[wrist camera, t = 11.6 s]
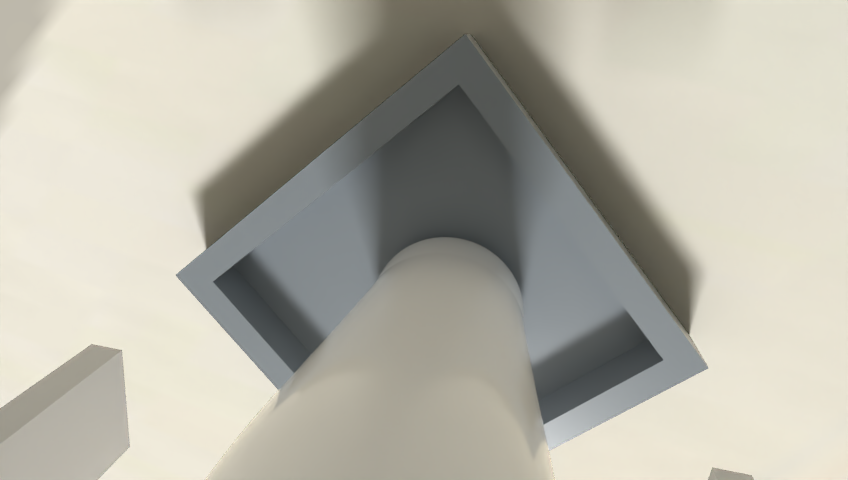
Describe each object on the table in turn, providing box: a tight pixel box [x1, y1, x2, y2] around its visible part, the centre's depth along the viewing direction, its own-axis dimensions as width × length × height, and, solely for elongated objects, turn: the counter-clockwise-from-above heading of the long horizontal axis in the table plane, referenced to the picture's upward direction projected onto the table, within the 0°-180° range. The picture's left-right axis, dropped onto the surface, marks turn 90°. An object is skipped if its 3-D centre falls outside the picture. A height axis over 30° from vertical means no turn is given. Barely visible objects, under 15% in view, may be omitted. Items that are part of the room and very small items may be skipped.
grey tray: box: [176, 34, 708, 451], centre depth 21 cm, size 13×13×2 cm
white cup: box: [205, 237, 555, 480], centre depth 14 cm, size 7×7×15 cm
